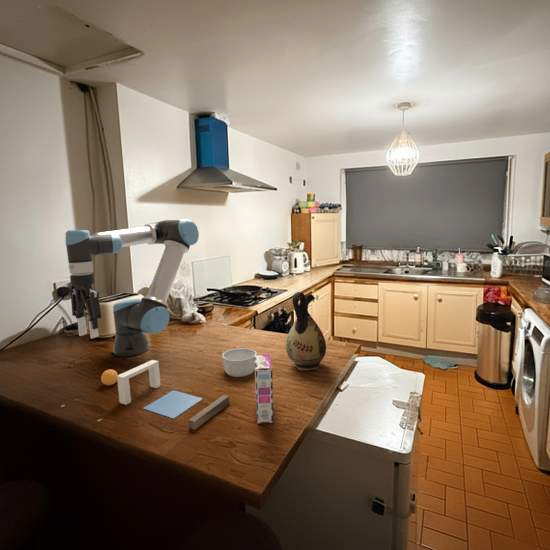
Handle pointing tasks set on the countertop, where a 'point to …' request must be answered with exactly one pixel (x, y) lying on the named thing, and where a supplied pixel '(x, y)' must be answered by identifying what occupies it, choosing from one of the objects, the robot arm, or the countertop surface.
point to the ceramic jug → (305, 336)
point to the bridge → (124, 377)
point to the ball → (109, 377)
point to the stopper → (208, 412)
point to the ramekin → (239, 362)
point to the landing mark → (173, 404)
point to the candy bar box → (263, 389)
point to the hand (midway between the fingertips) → (88, 335)
